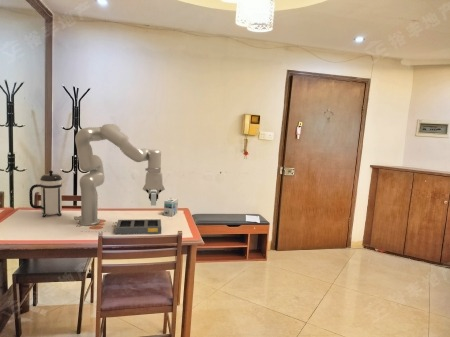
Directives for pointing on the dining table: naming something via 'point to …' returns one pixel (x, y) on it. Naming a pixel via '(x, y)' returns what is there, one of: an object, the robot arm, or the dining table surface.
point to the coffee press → (49, 194)
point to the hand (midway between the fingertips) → (153, 200)
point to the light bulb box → (170, 207)
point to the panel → (153, 197)
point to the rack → (138, 226)
